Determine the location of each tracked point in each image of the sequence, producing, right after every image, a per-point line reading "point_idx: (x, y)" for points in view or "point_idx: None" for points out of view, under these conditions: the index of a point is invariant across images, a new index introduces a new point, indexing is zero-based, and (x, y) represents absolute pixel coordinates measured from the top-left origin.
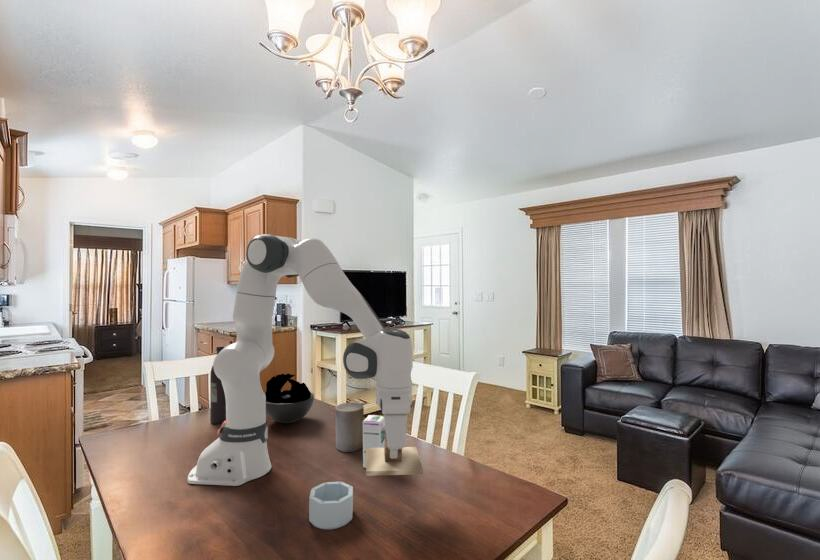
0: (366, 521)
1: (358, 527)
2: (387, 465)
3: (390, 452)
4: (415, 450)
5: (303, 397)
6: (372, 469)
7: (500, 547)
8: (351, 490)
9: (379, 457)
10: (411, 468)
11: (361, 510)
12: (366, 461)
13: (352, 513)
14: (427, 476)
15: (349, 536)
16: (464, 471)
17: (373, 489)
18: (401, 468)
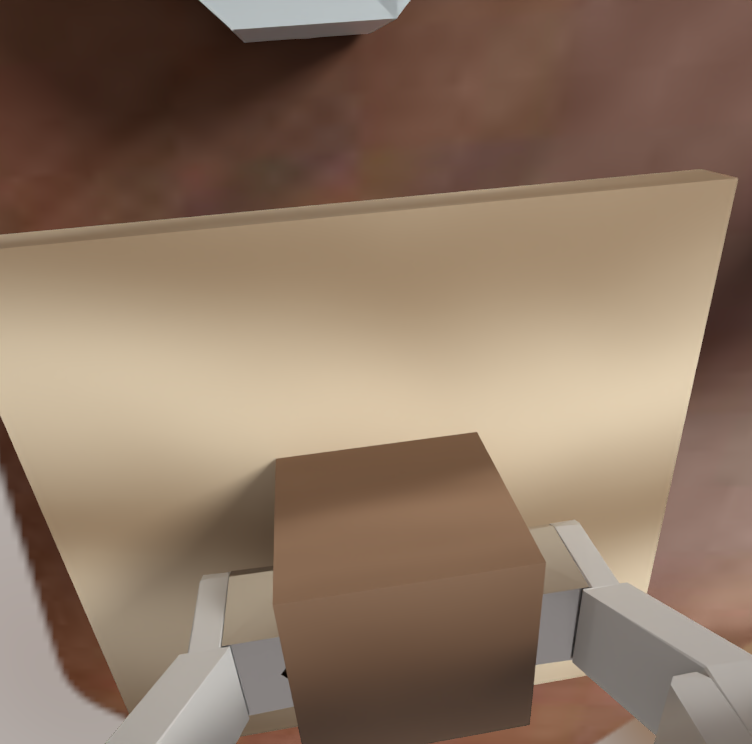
0: (244, 149)
1: (172, 97)
2: (181, 492)
3: (191, 638)
4: (552, 672)
5: None
6: (27, 335)
7: (106, 701)
8: (324, 9)
9: (407, 386)
10: (154, 683)
11: (373, 102)
12: (272, 228)
13: (283, 38)
14: (689, 467)
15: (59, 39)
16: (686, 610)
17: (622, 170)
18: (136, 615)
